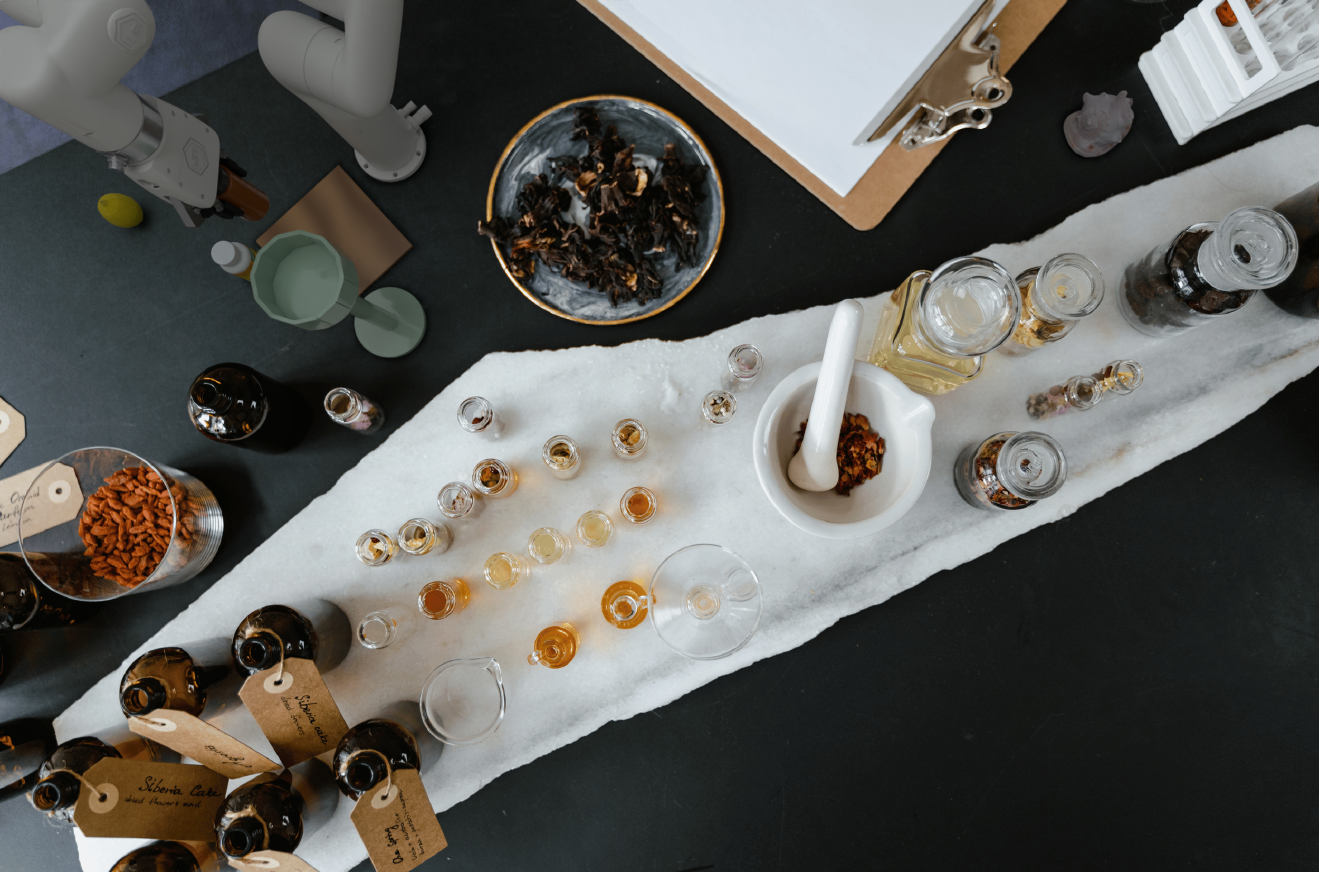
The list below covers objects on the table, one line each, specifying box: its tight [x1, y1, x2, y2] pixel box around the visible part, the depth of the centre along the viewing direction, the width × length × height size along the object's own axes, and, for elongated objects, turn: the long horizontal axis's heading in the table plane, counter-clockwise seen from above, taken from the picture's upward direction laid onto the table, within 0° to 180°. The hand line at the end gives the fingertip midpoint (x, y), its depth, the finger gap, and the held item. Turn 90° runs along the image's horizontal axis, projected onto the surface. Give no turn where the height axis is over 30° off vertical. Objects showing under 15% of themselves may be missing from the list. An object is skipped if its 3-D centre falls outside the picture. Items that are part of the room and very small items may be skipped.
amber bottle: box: [216, 164, 270, 223], centre depth 90 cm, size 5×5×9 cm
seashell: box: [1063, 90, 1135, 158], centre depth 110 cm, size 10×12×9 cm
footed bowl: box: [250, 230, 427, 359], centre depth 102 cm, size 12×12×29 cm
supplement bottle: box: [210, 240, 259, 283], centre depth 113 cm, size 5×5×10 cm
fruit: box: [97, 192, 144, 229], centre depth 115 cm, size 6×6×8 cm
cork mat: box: [255, 164, 414, 297], centre depth 118 cm, size 20×20×1 cm
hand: (234, 193), depth 90 cm, fingers closed on amber bottle, 4 cm apart
